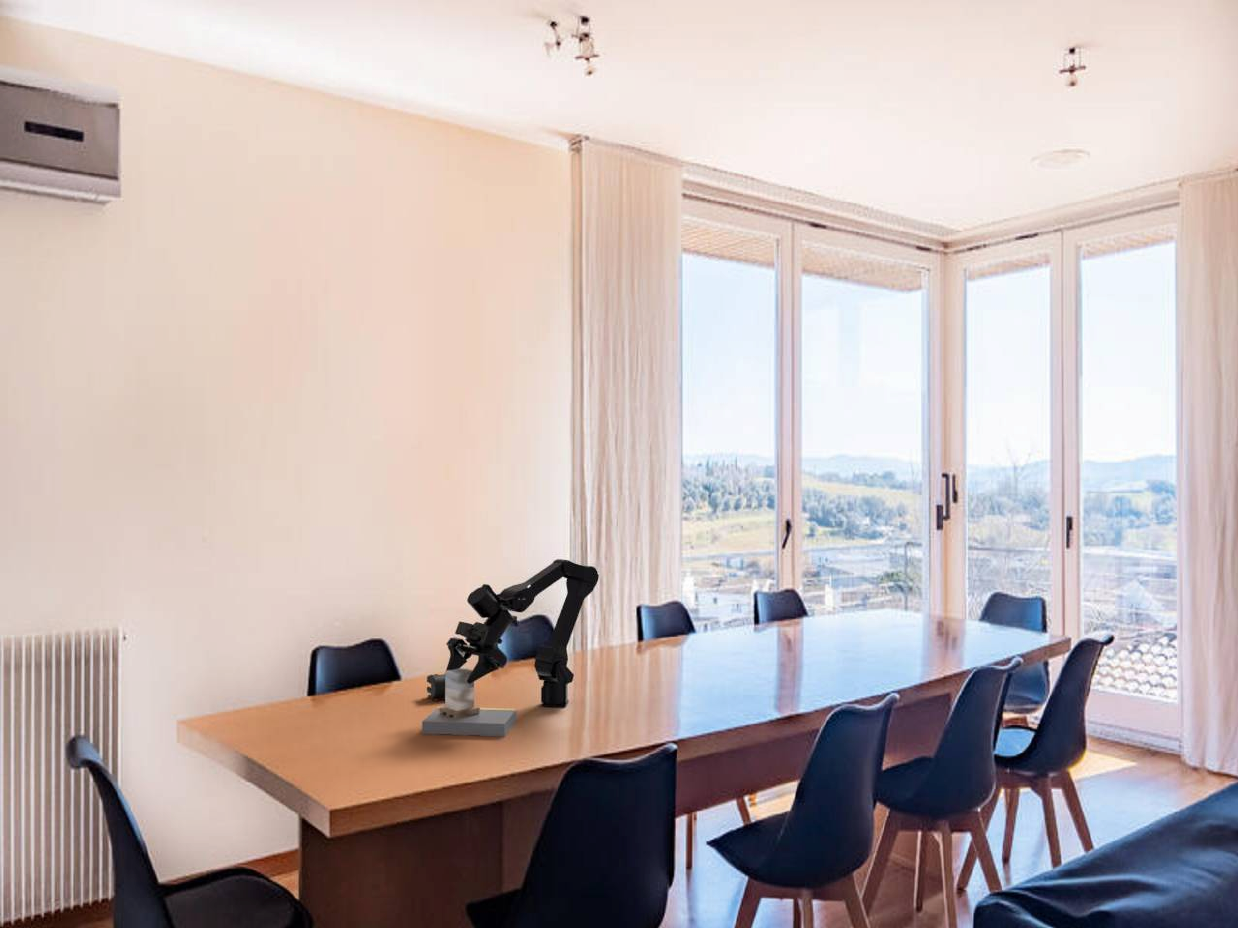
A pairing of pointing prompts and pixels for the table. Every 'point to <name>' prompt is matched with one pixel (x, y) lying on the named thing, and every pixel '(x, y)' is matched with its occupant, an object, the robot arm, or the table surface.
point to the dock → (471, 723)
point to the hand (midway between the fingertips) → (456, 679)
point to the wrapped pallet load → (459, 694)
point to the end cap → (436, 686)
